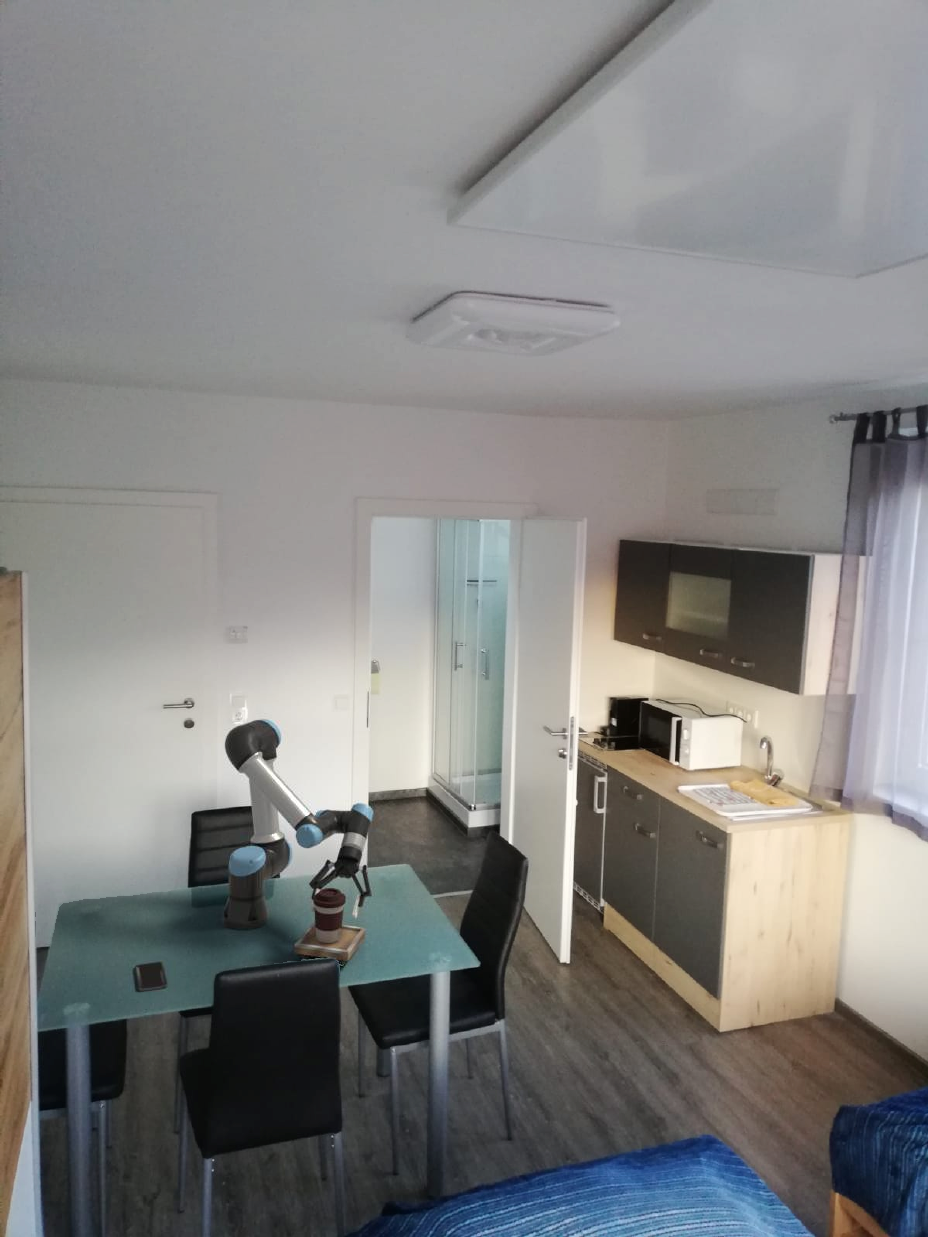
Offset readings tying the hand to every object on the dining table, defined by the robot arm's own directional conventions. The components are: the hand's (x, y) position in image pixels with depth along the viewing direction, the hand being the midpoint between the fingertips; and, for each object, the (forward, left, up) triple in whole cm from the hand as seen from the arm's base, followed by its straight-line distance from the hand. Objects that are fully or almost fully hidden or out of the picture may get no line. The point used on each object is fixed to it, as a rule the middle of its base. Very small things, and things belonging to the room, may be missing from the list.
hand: (333, 913), depth 277 cm
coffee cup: (-1, -1, -8) cm, 8 cm away
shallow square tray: (0, -1, -13) cm, 13 cm away
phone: (-44, -30, -13) cm, 55 cm away
